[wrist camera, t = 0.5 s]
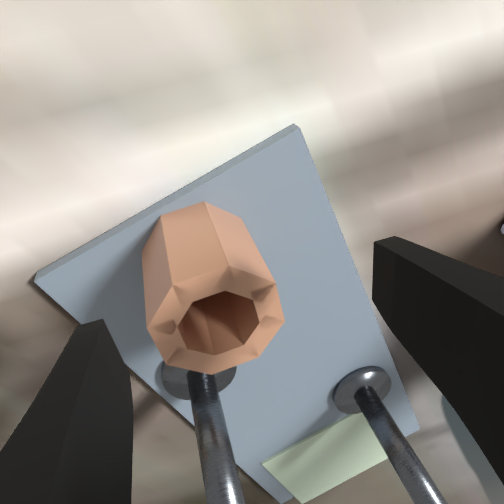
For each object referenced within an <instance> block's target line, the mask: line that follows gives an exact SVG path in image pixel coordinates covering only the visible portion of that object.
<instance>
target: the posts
mask: <svg viewBox="0 0 504 504" xmlns="http://www.w3.org/2000/svg"><path fill="white" fill-rule="evenodd" d="M236 369H237V366H234V367H231V368H229V369H226V370H223V371H221V372H218V373H215V374H212V375H210V374H206V373H201V372H197V371H192V370H188V369H183V368H179V367H174V366H170V365H166V364H165V362H163V364H162V368H161V376H162V384H163V387H164V388H165V390H166V391H167V392H168V393H169V394H170V395H172V396H174V397H176V398H179V399H183V400H190V402H191V408H192V414H193V420H194V426H195V432H196V438H197V444H198V450H199V456H200V462H201V468H202V474H203V480H204V486H205V492H206V498H207V504H245V500H244V496H243V492H242V487H241V483H240V479H239V475H238V471H237V467H236V463H235V458H234V454H233V450H232V446H231V442H230V438H229V434H228V429H227V425H226V421H225V417H224V413H223V409H222V404H221V400H220V396H219V392H221V391H222V390H223V389H225V388H226V387H227V386H228V385H229V384H230V383H231V382H232V380H233V378H234V376H235V374H236ZM391 384H392V383H391V379H390V377H389V376H388V374H387V373H386V371H385V370H384V369H383V368H381V367H378V366H365V367H361V368H358V369H356V370H354V371H352V372H350V373H348V374H347V375H346V376H344V377H343V378H342V379H341V380H340V381H339V382H338V383H337V385H336V386H335V388H334V390H333V394H332V398H333V401H334V403H335V405H336V407H337V409H338V410H339V411H340V412H342V413H345V414H358V413H363V415H364V417H365V419H366V420H367V422H368V424H369V426H370V427H371V429H372V431H373V432H374V434H375V436H376V438H377V439H378V441H379V443H380V445H381V446H382V448H383V450H384V452H385V453H386V455H387V457H388V458H389V460H390V462H391V464H392V465H393V467H394V469H395V471H396V472H397V474H398V476H399V478H400V479H401V481H402V483H403V485H404V486H405V488H406V490H407V491H408V493H409V495H410V497H411V498H412V500H413V502H414V504H448V503H447V502H446V500H445V499H444V497H443V496H442V494H441V493H440V491H439V489H438V488H437V486H436V485H435V483H434V482H433V480H432V479H431V477H430V475H429V474H428V472H427V471H426V469H425V468H424V466H423V465H422V463H421V461H420V460H419V458H418V457H417V455H416V454H415V452H414V450H413V449H412V447H411V446H410V444H409V443H408V441H407V440H406V438H405V436H404V435H403V433H402V432H401V430H400V429H399V427H398V426H397V424H396V422H395V421H394V419H393V418H392V416H391V415H390V413H389V412H388V410H387V408H386V407H385V405H384V404H383V402H382V400H383V399H384V398H385V397H386V396H387V395H388V393H389V391H390V389H391Z"/></svg>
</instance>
